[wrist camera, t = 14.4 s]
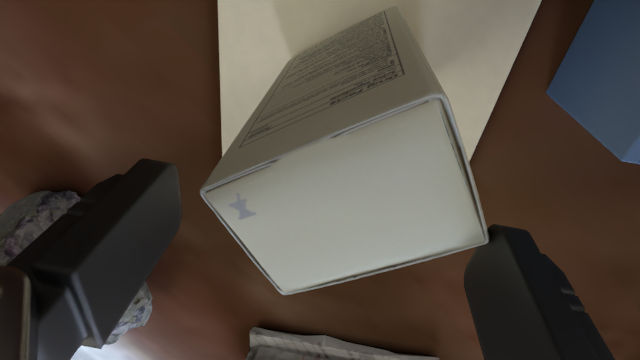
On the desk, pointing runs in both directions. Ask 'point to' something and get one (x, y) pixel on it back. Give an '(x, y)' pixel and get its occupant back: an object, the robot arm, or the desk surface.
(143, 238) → the robot arm
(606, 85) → the storage box
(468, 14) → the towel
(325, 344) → the packaged product
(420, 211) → the cosmetic box
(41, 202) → the mineral rock
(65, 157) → the desk surface
